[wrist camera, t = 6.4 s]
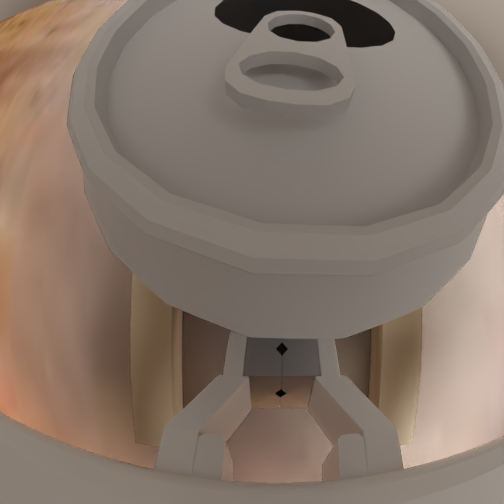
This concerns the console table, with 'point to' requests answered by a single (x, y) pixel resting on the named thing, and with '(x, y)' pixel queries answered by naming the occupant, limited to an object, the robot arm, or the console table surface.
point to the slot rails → (170, 366)
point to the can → (289, 156)
